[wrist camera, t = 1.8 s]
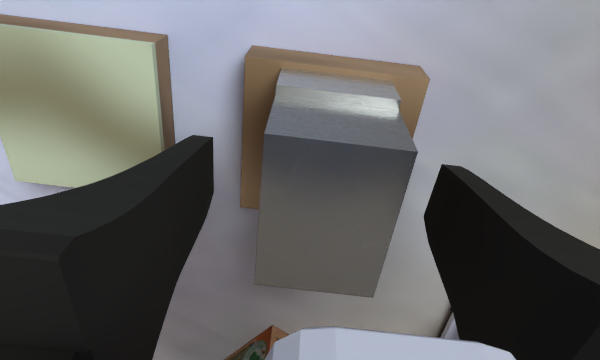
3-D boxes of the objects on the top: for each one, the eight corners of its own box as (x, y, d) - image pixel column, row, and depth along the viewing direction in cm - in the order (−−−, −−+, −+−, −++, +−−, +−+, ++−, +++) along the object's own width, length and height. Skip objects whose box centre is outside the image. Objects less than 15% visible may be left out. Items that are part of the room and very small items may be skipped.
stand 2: (382, 202, 17) (387, 224, 16) (246, 186, 17) (240, 206, 16) (419, 66, 14) (429, 79, 12) (252, 45, 14) (245, 56, 12)
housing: (359, 216, 16) (371, 304, 12) (270, 206, 16) (253, 291, 12) (391, 80, 13) (421, 140, 9) (282, 67, 13) (264, 121, 9)
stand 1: (177, 178, 17) (165, 198, 16) (38, 162, 17) (15, 180, 15) (167, 35, 14) (151, 44, 12) (-5, 13, 14) (-38, 21, 12)
